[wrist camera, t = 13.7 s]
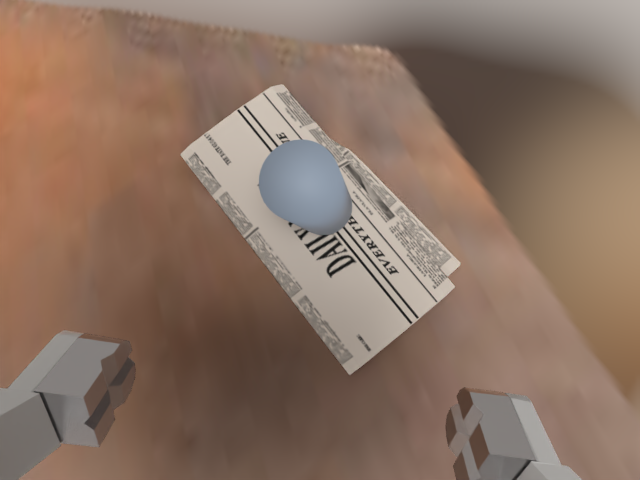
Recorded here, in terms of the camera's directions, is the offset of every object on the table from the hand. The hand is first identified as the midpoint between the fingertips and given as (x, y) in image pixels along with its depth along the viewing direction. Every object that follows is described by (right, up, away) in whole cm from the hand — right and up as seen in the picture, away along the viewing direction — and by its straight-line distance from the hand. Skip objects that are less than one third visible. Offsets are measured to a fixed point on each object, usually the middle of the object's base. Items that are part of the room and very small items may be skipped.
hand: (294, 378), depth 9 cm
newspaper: (0, +6, +22) cm, 23 cm away
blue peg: (+1, +6, +19) cm, 20 cm away
